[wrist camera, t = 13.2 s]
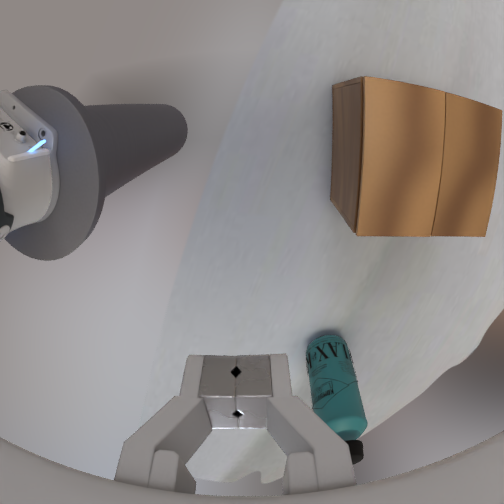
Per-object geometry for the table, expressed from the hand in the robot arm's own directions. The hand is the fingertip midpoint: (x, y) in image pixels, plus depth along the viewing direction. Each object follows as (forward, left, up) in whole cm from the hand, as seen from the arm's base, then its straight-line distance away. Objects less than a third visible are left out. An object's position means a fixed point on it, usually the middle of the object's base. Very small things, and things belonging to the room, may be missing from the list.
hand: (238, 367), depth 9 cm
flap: (+4, +12, -16) cm, 20 cm away
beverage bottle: (+25, -7, -26) cm, 37 cm away
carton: (+6, +15, -26) cm, 31 cm away
